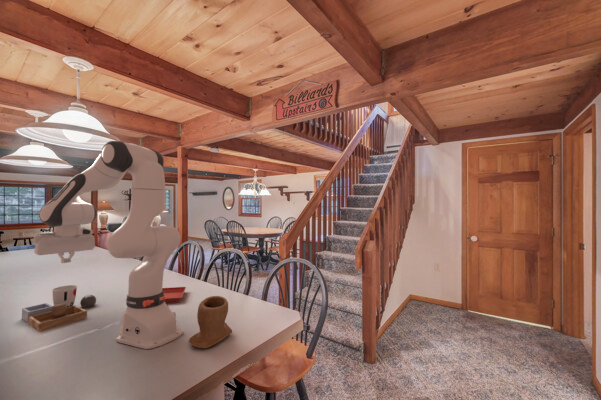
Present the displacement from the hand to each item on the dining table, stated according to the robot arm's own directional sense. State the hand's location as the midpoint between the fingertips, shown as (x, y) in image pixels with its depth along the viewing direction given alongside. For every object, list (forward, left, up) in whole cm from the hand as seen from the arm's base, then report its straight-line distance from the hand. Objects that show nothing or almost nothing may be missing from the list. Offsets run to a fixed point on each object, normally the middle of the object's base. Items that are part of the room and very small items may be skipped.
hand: (66, 262), depth 117 cm
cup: (0, 0, -21) cm, 21 cm away
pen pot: (-3, +9, -21) cm, 23 cm away
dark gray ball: (-5, -7, -21) cm, 23 cm away
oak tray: (-13, +6, -21) cm, 26 cm away
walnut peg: (-13, +6, -20) cm, 25 cm away
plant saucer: (-22, -33, -22) cm, 45 cm away
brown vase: (-76, -17, -21) cm, 81 cm away
